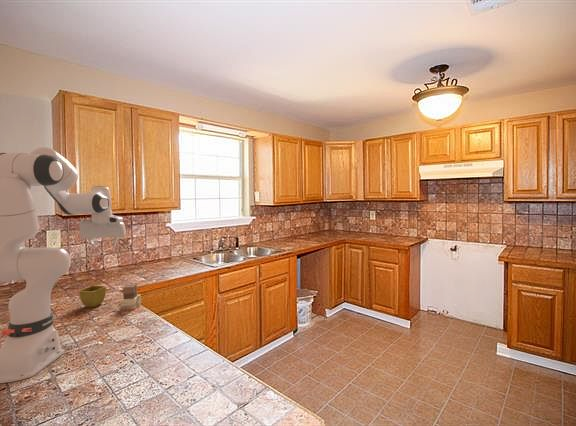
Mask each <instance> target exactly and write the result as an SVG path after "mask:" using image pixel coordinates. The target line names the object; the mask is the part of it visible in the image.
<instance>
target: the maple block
mask: <svg viewBox="0 0 576 426" xmlns="http://www.w3.org/2000/svg"><path fill="white" fill-rule="evenodd" d="M119 303H120V304H119V305H120V310H132V309H133V310H134V309H136V308H138V307H139V306H140V305H142V294H137V296H136V297H135V298H134V299H124V297H122V298H121V299H120V300H119ZM138 305H139V306H138Z"/></svg>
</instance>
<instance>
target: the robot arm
mask: <svg viewBox="0 0 576 426" xmlns="http://www.w3.org/2000/svg"><path fill="white" fill-rule="evenodd" d="M78 178H79V173H78V171H77V168H76V167H75V166H73V164H72V163H71V162H70V161H69V160H68V159H67V158H65V157H64V156H63V155H62V154H60V153H59V152H58V151H56V150H54V149H53V148H51V147H47V146H41V147H38V148H35V149H33V150H32V151H31V152H30V153H27V152H9V153H8V152H0V282H3V283H5V282H16V281H17V282H19V281H25V282H26V283H25V284H26V285H25V288H23V289H22V290H19V291H18V292H17V293H15V294H14V295H12V297H10V299H9V302H8V313H9V322H8V326H7V328H3V329H1V332H0V333H1V337H3V336H6V338H5V340H4V342H2V344H1V347H0V384H5V383H11V382H12V383H13V382H19V381H21V380H26V379H29V378H32V377H33V376H36V375H37V374H38V373H39V372H41V371H42V370H43V369H45V368H47V366H49V365H50V364H51V363H53V362H55V360H57V359H58V358H60V357H61V356H63V355H64V354H65V353H66V351H65V349H63V348H62V347H61V342H60V336H59V332H58V330H57V329H56V328H55V327H54V316H53V313H52V309H51V308H52V307H51V295H52V290H53V288H54V286H55V284H56V282H57V281H58V280H59V279H60V278H61V277H62V276H64V275H65V274H66V273H67V272H68V270H69V269H70V267H71V264H72V259H71V255H70V254H69V252H68V251H67V250H66V249H64V248H60V247H53V246H51V247H50V246H47V247H26V243H25V241H28V240H30V239H32V238H33V237H36V235H37V234H38V233H39V231H40V222H39V217H38V212H37V208H36V204H35V201H34V198H33V195H32V192H31V188H32V187H35V186H36V187H38V186H43V188H44V189H45V190H46V192H47V193H48V194H49V196H50V197H51V198H52V199H53V200H54V202H56V203H57V205H58V208H59V209H60V211H62V213H63V214H65V215H66V216H67V215H68V216H72V215H90V214H91V218H89V219H82V220H80V221H79V222H78V223H79V226H78V227H79V238H81V239H87V240H88V242H89V244H90V246H91V248H96V247H97V245H96V244H97V242H94V241H93V240H94V239H97V238H98V239H99V238H113V239H114V241H113V242H111V244H112V245H111V246H112V247H116V246H117V242H118V240H119V239H120V238H121V237H125V236H126V234H127V230H126V224H125V223H124V222H123V221H124V218H123V217H122V216H119V215H114V214H113V210H112V204H113V203H112V197H111V190H110V188H109V187H107V186H103V185H94V186H91V188H90V191H89V192H86V193H85V192H84V193H82V192H81V193H79V192H77V193H75V192H73V193H71V192H68V190H70V189H72V188H73V187H74V186H75V185H76V183H77V181H78Z"/></svg>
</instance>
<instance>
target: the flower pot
mask: <svg viewBox="0 0 576 426" xmlns="http://www.w3.org/2000/svg"><path fill="white" fill-rule="evenodd" d="M106 291H107V286H105V285H90V286H88V287H85V288H83V289H81V290H78V294H79V299H80V302H81V303H82V304H83V306H84V307H86V308H87V307H88V308H95V307H97V306H100V305H101V304H102V303H103V302H104V300H105V298H106Z"/></svg>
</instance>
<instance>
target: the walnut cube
mask: <svg viewBox="0 0 576 426" xmlns="http://www.w3.org/2000/svg"><path fill="white" fill-rule="evenodd" d="M122 291H123V292H122V293H123V294H122V295H123V297H124V299H134V298H135V297H136V296H137V295H138V283H129V284H125V285H124V286H123V287H122ZM123 297H122V298H123Z"/></svg>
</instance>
